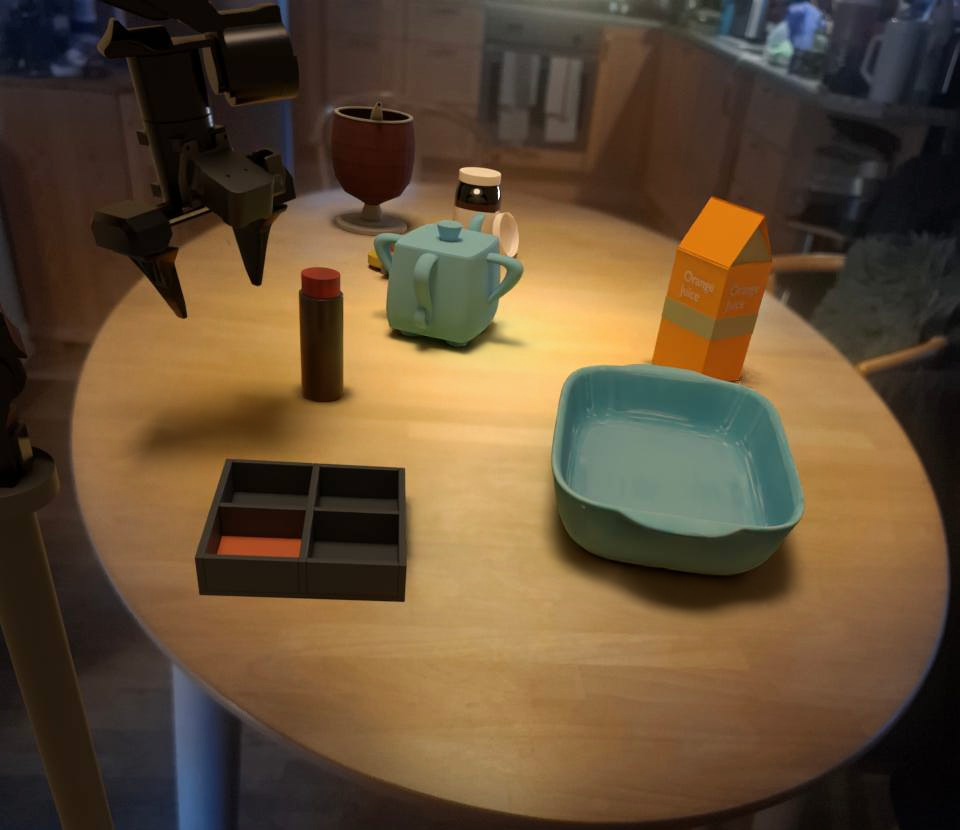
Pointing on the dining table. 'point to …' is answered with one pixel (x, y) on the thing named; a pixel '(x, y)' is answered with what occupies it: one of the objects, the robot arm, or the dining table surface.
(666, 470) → the casserole dish
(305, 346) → the pepper grinder
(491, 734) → the dining table surface
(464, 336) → the teapot
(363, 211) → the mate gourd
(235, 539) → the tray
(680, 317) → the orange juice
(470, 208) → the spread jar
